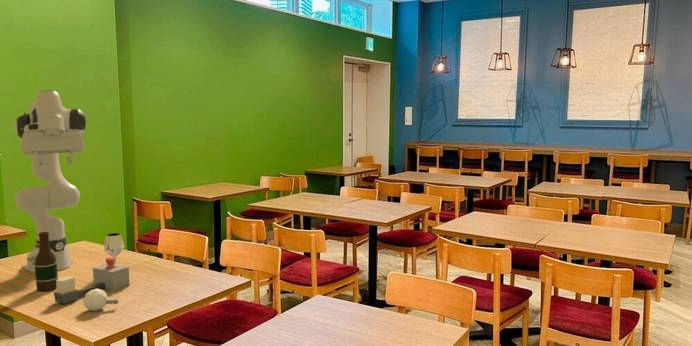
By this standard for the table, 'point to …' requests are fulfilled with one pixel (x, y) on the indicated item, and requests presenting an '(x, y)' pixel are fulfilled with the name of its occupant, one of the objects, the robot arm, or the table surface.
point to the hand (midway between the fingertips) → (55, 163)
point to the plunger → (110, 262)
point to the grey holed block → (111, 276)
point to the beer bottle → (45, 265)
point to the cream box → (66, 289)
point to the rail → (85, 291)
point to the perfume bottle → (97, 300)
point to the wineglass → (113, 244)
